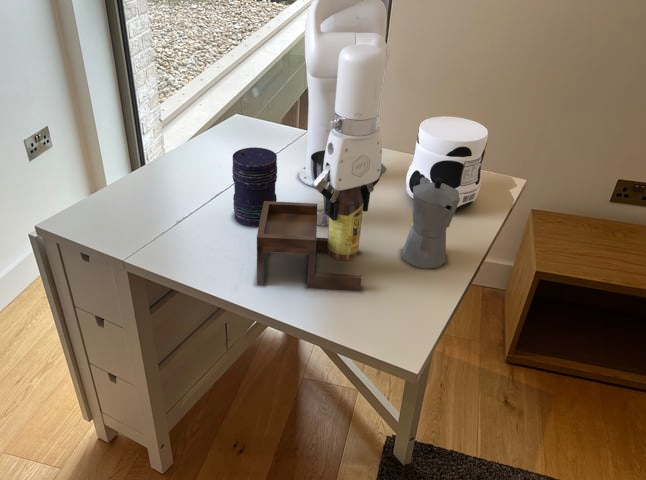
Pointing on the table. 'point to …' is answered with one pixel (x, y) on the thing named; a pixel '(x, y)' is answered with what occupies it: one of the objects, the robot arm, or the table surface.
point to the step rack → (297, 242)
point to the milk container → (450, 155)
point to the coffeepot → (430, 222)
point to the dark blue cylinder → (253, 183)
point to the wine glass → (316, 170)
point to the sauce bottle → (346, 225)
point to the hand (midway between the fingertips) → (346, 212)
